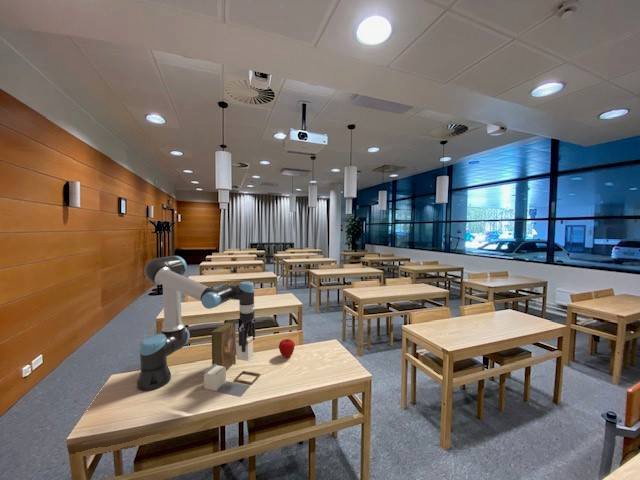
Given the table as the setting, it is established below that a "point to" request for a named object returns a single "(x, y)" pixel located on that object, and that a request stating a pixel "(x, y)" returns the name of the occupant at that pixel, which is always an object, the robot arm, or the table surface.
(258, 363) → the table surface
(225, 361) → the book
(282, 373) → the table surface
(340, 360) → the table surface
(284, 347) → the apple
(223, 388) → the board
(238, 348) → the stub
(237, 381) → the tray
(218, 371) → the pad
